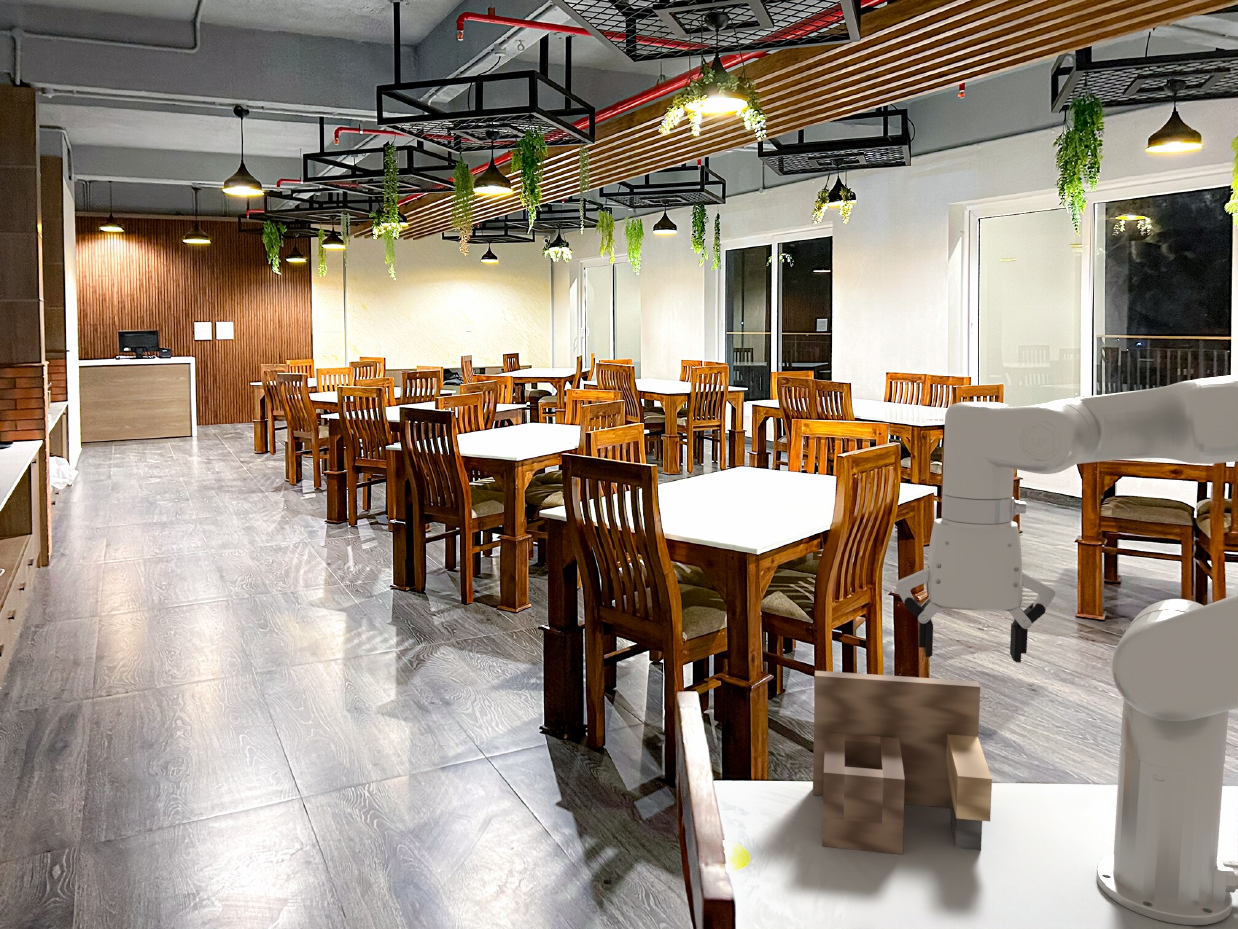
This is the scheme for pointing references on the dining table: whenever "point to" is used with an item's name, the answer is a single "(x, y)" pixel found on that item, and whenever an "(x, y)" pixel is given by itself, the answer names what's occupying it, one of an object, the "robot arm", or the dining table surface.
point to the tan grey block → (968, 790)
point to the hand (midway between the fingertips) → (971, 656)
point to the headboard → (884, 751)
